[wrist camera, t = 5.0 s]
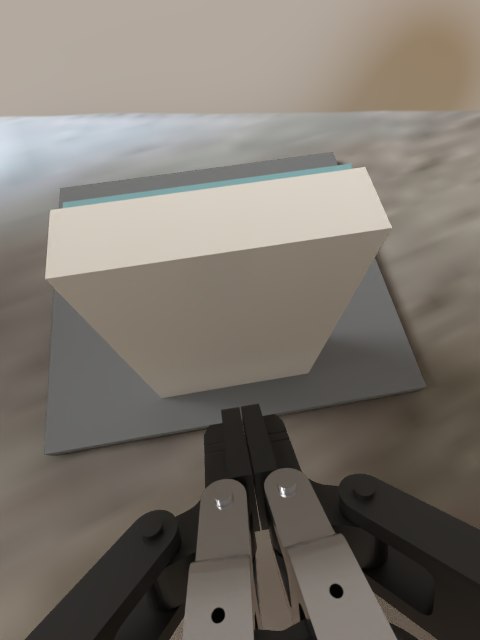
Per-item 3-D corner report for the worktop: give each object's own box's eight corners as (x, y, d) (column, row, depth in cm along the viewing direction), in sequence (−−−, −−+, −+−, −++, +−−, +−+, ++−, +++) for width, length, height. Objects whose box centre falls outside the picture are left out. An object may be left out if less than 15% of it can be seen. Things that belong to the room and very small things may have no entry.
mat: (51, 455, 18) (43, 454, 18) (65, 196, 26) (60, 188, 25) (419, 390, 19) (426, 386, 19) (330, 161, 27) (332, 152, 26)
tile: (161, 398, 19) (44, 278, 8) (158, 355, 20) (51, 197, 9) (308, 373, 19) (391, 227, 8) (298, 332, 20) (360, 156, 9)
